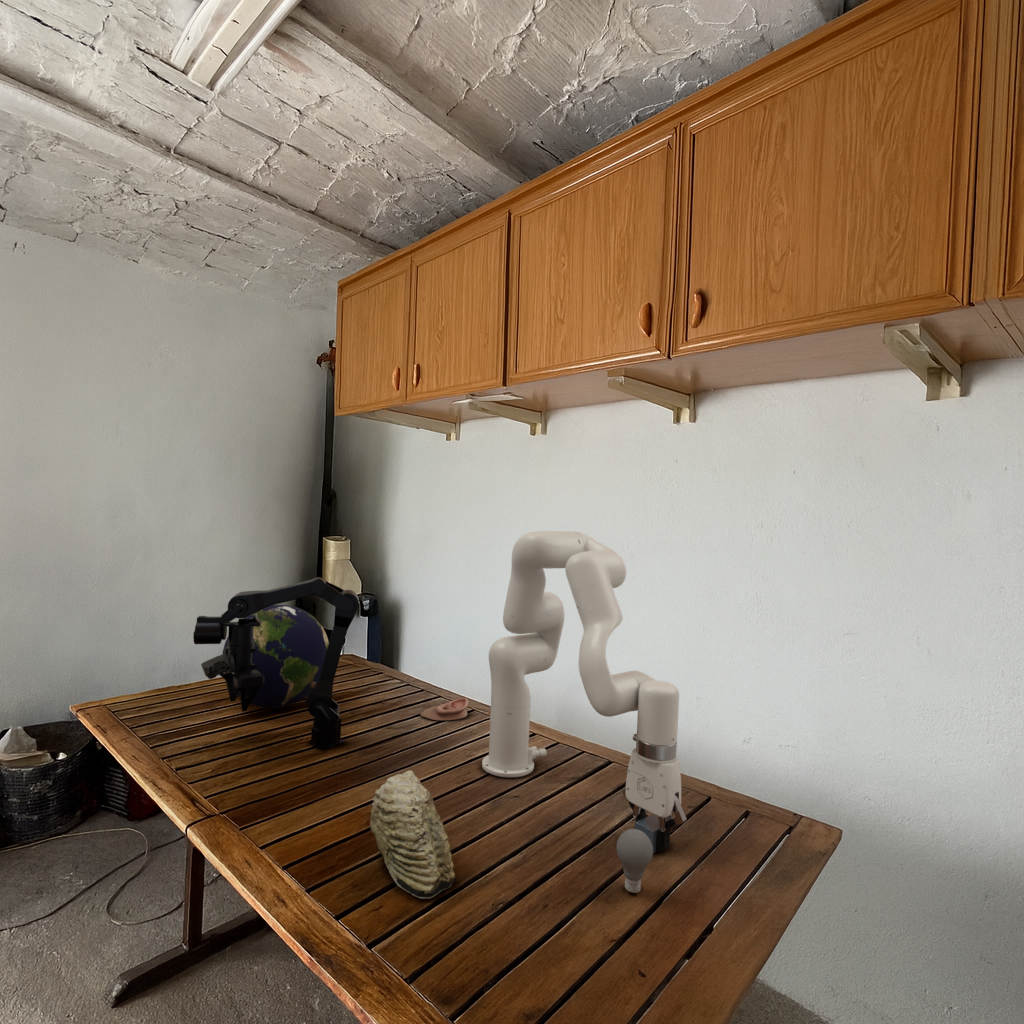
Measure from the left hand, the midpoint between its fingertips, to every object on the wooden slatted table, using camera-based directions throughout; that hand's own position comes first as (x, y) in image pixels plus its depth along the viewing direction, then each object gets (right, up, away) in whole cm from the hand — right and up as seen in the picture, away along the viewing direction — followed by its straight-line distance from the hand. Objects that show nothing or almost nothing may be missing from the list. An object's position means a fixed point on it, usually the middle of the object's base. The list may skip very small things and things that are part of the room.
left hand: (238, 706), depth 157 cm
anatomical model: (+48, -12, +30) cm, 58 cm away
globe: (-3, -10, +31) cm, 33 cm away
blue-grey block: (+94, -15, -36) cm, 102 cm away
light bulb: (+88, -15, -51) cm, 103 cm away
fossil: (+50, -14, -48) cm, 71 cm away
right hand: (+94, -15, -36) cm, 102 cm away
